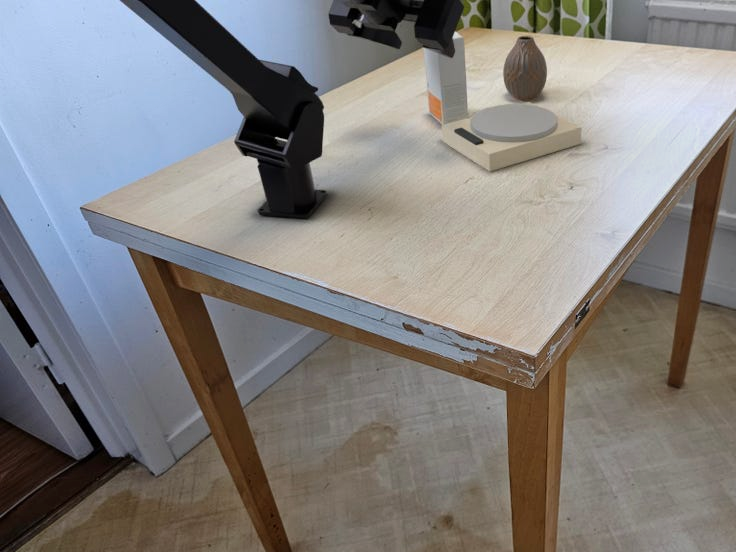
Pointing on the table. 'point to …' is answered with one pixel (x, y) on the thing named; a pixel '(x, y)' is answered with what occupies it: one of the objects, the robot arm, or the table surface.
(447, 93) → the cosmetic box
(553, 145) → the scale
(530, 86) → the vase
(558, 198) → the table surface
